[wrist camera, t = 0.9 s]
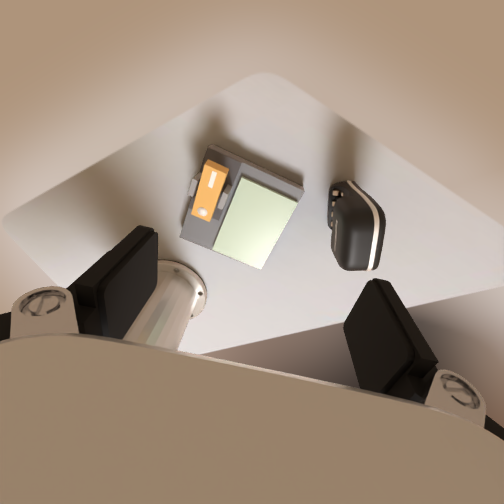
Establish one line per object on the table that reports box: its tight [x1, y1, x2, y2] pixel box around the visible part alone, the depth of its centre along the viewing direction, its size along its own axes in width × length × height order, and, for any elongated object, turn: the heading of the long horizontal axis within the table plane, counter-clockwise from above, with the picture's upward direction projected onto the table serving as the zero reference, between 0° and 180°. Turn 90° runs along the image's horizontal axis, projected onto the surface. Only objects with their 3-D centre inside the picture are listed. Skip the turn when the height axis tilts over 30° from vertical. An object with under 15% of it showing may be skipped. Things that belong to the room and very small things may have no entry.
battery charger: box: [328, 181, 386, 271], centre depth 29 cm, size 7×4×11 cm, turn 6°
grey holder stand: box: [180, 144, 305, 270], centre depth 32 cm, size 13×12×6 cm
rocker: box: [191, 159, 229, 222], centre depth 29 cm, size 7×2×1 cm, turn 157°
